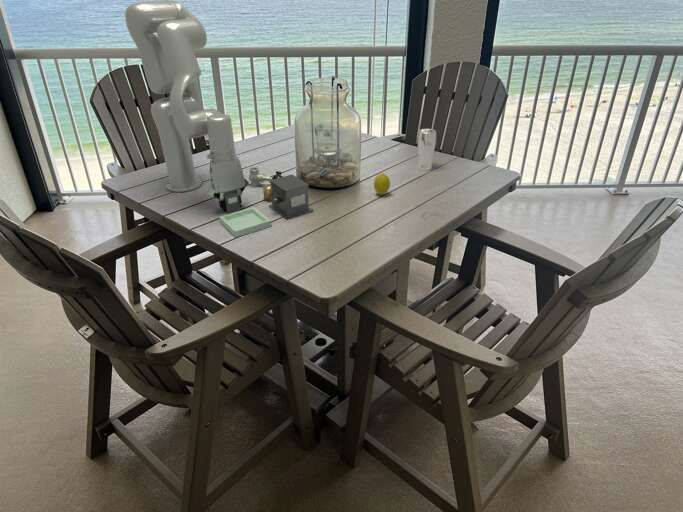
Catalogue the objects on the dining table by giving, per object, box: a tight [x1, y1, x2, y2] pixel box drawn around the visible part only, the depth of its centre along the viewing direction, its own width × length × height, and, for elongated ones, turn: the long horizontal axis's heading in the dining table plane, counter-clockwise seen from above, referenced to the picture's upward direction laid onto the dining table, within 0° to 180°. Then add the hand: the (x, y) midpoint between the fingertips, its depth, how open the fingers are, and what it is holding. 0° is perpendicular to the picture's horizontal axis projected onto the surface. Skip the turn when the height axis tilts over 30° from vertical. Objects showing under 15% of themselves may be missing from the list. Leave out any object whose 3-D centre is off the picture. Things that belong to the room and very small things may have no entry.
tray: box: [218, 206, 273, 238], centre depth 142 cm, size 12×12×2 cm
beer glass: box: [416, 128, 437, 171], centre depth 179 cm, size 7×7×15 cm
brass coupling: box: [262, 183, 272, 203], centre depth 157 cm, size 4×4×5 cm
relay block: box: [224, 190, 241, 214], centre depth 150 cm, size 5×4×6 cm
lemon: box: [373, 172, 391, 196], centre depth 159 cm, size 6×6×8 cm
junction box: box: [268, 174, 314, 220], centre depth 149 cm, size 12×11×10 cm
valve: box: [248, 166, 284, 188], centre depth 166 cm, size 7×7×12 cm
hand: (231, 207), depth 152 cm, fingers closed on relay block, 4 cm apart
